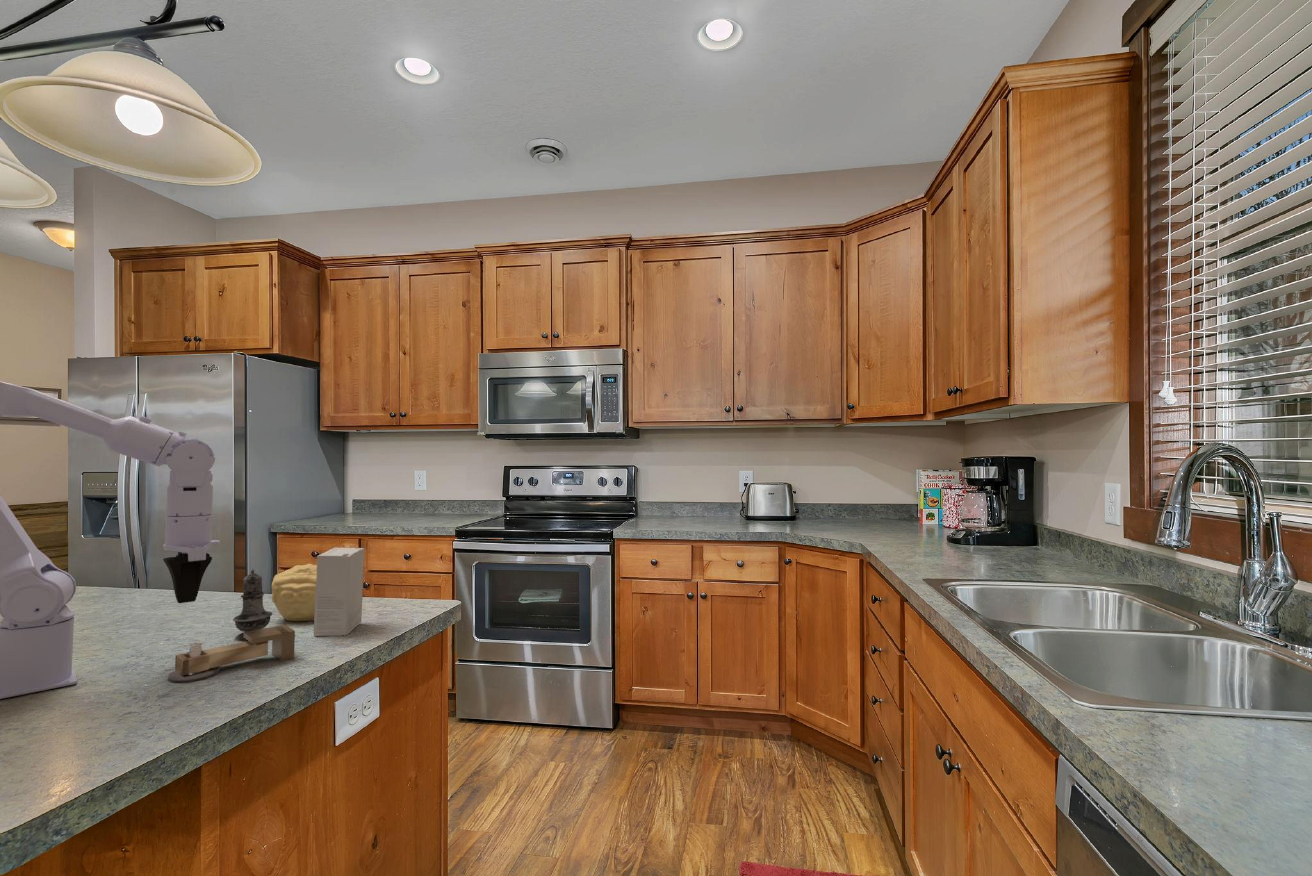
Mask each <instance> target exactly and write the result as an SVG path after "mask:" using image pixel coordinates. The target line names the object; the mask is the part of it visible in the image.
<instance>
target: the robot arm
mask: <svg viewBox="0 0 1312 876" xmlns="http://www.w3.org/2000/svg"><path fill="white" fill-rule="evenodd" d="M2 417H8V418H14V419H17V418H19V419H20V418H33V417H34V418H37V419H41V420H45V421H48V422H51V423H54V424H57V425H60V426H64V427H67V428H70V429H73V430H77V431H78V432H82V433H85V434H90V435H91V436H95V437H98V438H101V439H103V441H104V444H105V445H106V447H107V449H108V451H110V452H112V453H113V452H114V453H117V454H119V455H123V456H126V457H129V458H131V459H134V460H137V461H142V462H144V463H147V464H150V465H154V466H156V467H161V466H163V465H167V467H168V468H169V470H170V471H169V482H168V483H169V484H168V485H167V487H166V505H165V506H166V508H165V511H166V512H165V533H164V534H165V535H164V543H163V544H162V545H163V546H162V548H163V549H162V550H163V551H167V552H177V554H176V555H175V556H169V557H164V558H163V559H162V560H163V562H164V564H165V565H166V567H167V569H168V572H169V573H170V576H171V581H172V585H173V590H174V591H173V592H174V594H175V595H174V596H175V599H176V602H177V603H178V604H183V603H184V604H186V603H193V602H195V601H196V599H197V597H198V596H199V595H198V594H199V591H200V586H201V583H202V580H203V577H204V574H205V572H206V571H207V569H208V566H209V565H210V564H211V563H212V560H213V557H212V556H210V555H211V554H210V553H208V552H207V550H209V549H211V548H212V547H215V546H216V547H217V546H220V545H221V541H220V540H218V539H213V540H212V529H213V528H212V527H213V526H212V523H213V522H212V521H213V499H214V498H213V497H214V486H213V484H212V481H213V477H214V475H213V473H212V470H211V469H212V467H213V465H214V464H215V462H216V457H215V455H214V454H215V453H214V451H213V449H212V448H211V447H210V446H209V444H207V443H205V442H203V441H202V440H199V439H196V438H187V439H186V437H187V435H188V434H187V433H186V432H185V431H182V430H179V431H178V432H176V431H174V430H170V429H167V428H165V427H162V426H160V425H156V424H154V423H151V422H152V418H149V417H146V416H143V415H141V416H140V417H139V418H138V417H135V416H132V415H128V416H125V417H121V418H117V419H114V418H113V419H112V418H110V417H108V416H105V415H101V414H99V413H97V412H94V411H92V410H88V409H86V408H83V407H81V406H78V405H75V404H72V403H71V402H67V401H65V400H63V399H59V398H57V397H54V396H51V395H49V394H47V393H44V392H41V391H38V390H36V389H32V388H29V387H24V386H21V385H17V384H13V383H8V382H4V381H0V419H1V418H2ZM76 591H77V581H76V580H75V578H74V577H73V575H71V574H70V573H69V572H67V571H65V570H62V569H61V568H58V567H57V566H56V565H55V564H54V563H53V561H52V560H51V559H50V558H49V556H47V555H46V554H44V552H43V551H41V550H40V549H38V547H37V546H36V544H35V543H34V542H33V541H32V539H31V537H30V536H29V535H28V533H27V532H26V530H25V529H24V527H23V526H22V524H21V523H20V521H19V520H18V518H17V517H16V516H15V514H14V513H13V511H12V510H11V508H10V507H9V505H8V504H7V503H6V501H5V500H4V498H3V497H2V496H1V494H0V616H1V618H2V620H1V621H0V700H2V699H7V698H11V697H16V696H22V695H28V694H33V693H36V692H37V693H38V692H42V691H47V690H51V689H57V688H62V687H67V686H73V685H76V684H77V683H78V679H77V674H76V672H75V668H74V667H73V652H74V632H75V631H74V630H75V629H74V627H75V612H73V611H72V610H71V609H70V608H69V607H68V606H67V604H68V603H69V602H70V601H72V599H73V597H74V596H75V594H76Z"/></svg>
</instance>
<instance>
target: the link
mask: <svg viewBox="0 0 1312 876" xmlns="http://www.w3.org/2000/svg"><path fill="white" fill-rule="evenodd" d="M268 655H269V641H265V642H260V643H255V644H251V643H250V642H249V641H240V642H238V643H237V642H236V643H231V644H227V645H221V646H217V647H212V648H209V649H203V650H202V649H201V656H196V657H192V658H189V652H184V653H183V652H182V653H178V654H175V658H174V660H175V661H174V662H175V663H174V671H175V670H176V671H178V672H179V673H180V674H181V675H187V674H191V673H196V672H200V671H204V670H209V668H213V667H218V666H220V667H222V666H226V665H231V664H235V663H238V662H239V663H240V662H243V661H244V662H245V661H247V660H252V659H256V658H262V657H266V656H268Z"/></svg>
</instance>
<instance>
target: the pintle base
mask: <svg viewBox="0 0 1312 876" xmlns="http://www.w3.org/2000/svg"><path fill="white" fill-rule="evenodd" d="M201 650H202V642H193V643H191V644H189V658H192V657H196V656H201ZM220 671H221V666H218V667H213V668H209V670H204V671H200V672H196V673H191V674H187V675H181V674H180V673H179V672H178V671H176V670H175V669H174V670H173V671H171V672H170V673H169V674H168V676H167V677H168V678H167V680H168V682H170V683H175V684H177V683H180V684H181V683H191V682H197V681H203V680H206V679H209V678H212V677H214V676H216V675H218V674H219V673H220Z"/></svg>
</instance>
